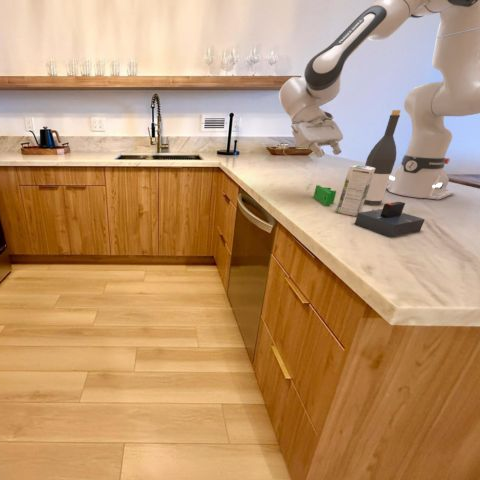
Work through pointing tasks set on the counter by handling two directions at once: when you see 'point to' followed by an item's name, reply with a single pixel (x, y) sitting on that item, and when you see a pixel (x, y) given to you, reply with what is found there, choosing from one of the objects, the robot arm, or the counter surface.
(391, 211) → the black small block
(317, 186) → the pipe clamp
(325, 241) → the counter surface
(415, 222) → the block
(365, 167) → the syrup box
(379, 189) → the wine bottle
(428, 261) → the counter surface
